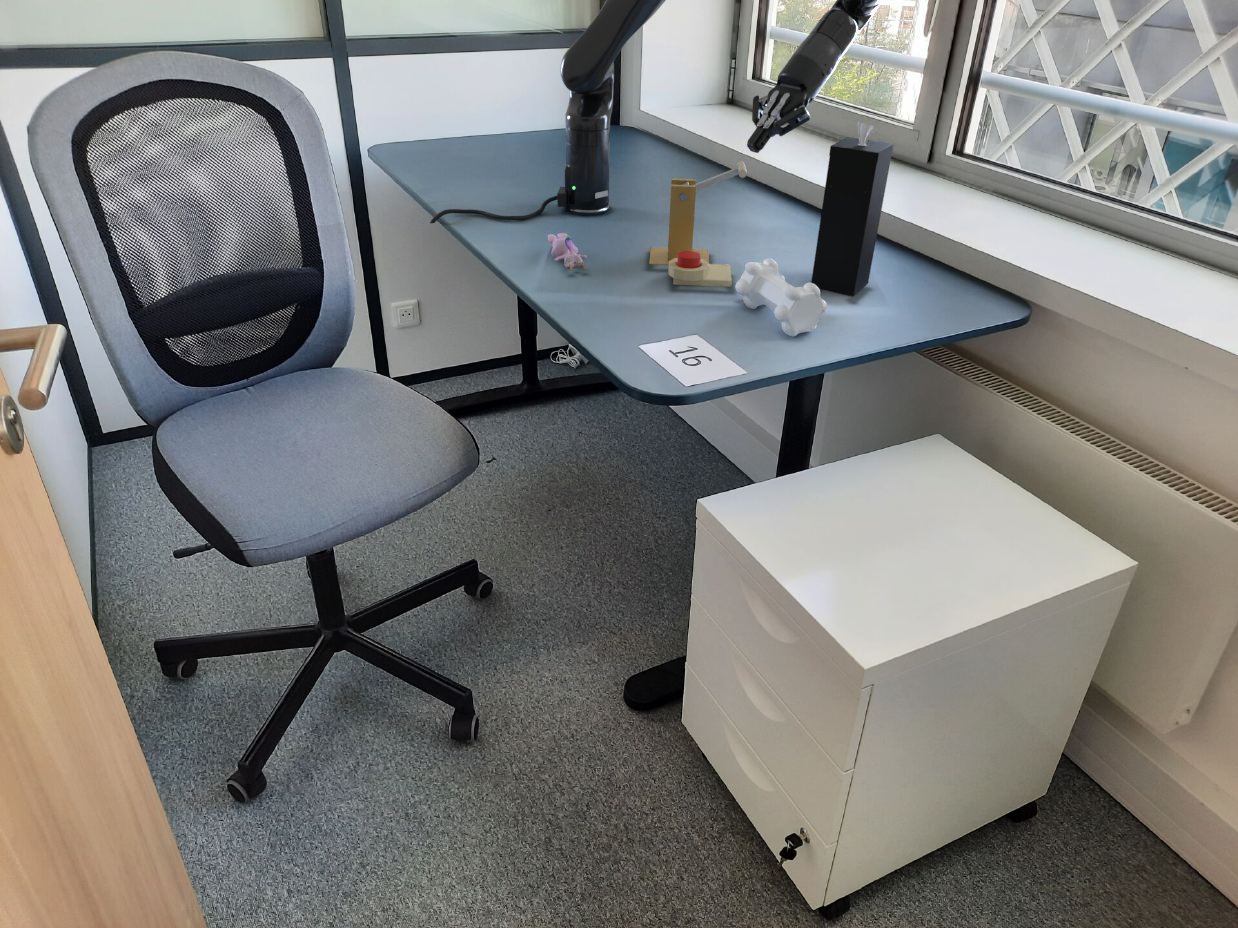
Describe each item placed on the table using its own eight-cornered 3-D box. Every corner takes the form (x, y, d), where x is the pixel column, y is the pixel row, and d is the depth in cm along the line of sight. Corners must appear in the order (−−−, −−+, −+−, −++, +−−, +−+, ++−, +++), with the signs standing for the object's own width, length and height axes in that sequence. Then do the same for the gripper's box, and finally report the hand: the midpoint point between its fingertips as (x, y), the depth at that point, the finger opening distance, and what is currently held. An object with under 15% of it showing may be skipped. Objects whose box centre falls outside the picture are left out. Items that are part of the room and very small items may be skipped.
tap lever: (746, 169, 157) (742, 157, 156) (748, 178, 152) (744, 165, 151) (678, 197, 161) (673, 185, 160) (678, 206, 156) (673, 194, 155)
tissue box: (852, 302, 149) (882, 131, 134) (809, 292, 153) (833, 124, 138) (867, 288, 155) (898, 122, 140) (825, 279, 159) (850, 116, 143)
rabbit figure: (594, 280, 160) (569, 241, 170) (596, 250, 156) (570, 212, 166) (561, 283, 158) (538, 244, 168) (562, 253, 154) (538, 215, 164)
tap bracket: (707, 255, 168) (713, 177, 160) (709, 272, 160) (715, 190, 152) (650, 253, 168) (653, 175, 160) (648, 270, 161) (652, 188, 153)
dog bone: (826, 333, 139) (834, 284, 134) (780, 342, 136) (786, 292, 131) (774, 299, 150) (779, 253, 146) (730, 307, 147) (734, 260, 143)
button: (677, 269, 151) (677, 258, 150) (677, 261, 154) (677, 250, 153) (700, 270, 151) (701, 259, 150) (699, 262, 154) (700, 251, 153)
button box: (667, 292, 152) (668, 270, 150) (668, 273, 159) (669, 252, 157) (730, 294, 151) (733, 272, 149) (728, 276, 159) (730, 254, 157)
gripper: (773, 47, 155) (716, 128, 156) (830, 58, 146) (769, 143, 147) (790, 77, 161) (735, 155, 161) (846, 89, 152) (787, 171, 152)
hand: (751, 149), depth 154 cm, fingers closed
